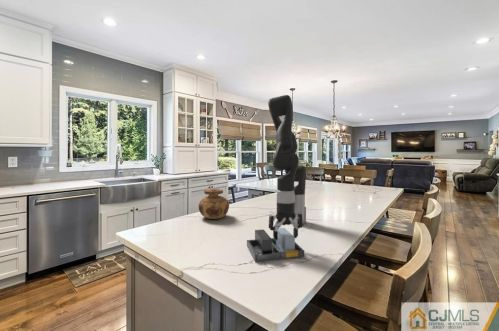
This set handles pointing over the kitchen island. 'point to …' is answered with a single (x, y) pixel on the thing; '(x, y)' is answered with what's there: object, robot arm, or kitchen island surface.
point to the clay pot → (213, 204)
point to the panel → (285, 240)
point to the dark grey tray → (270, 248)
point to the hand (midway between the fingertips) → (285, 238)
